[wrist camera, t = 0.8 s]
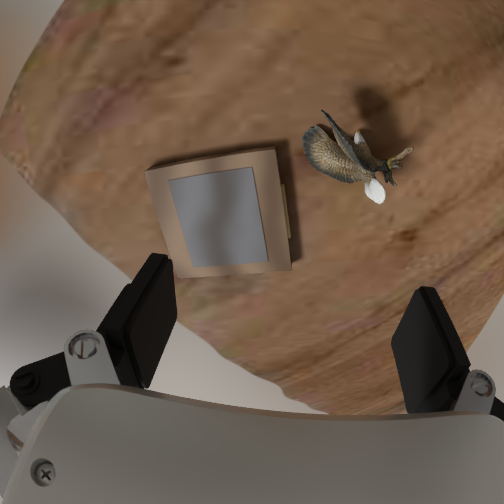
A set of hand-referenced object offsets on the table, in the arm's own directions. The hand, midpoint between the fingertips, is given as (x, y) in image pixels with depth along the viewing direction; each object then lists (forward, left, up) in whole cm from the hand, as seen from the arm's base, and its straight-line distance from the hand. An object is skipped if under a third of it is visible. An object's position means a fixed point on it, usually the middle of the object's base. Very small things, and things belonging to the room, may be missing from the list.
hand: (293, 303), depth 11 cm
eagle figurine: (-6, 0, -22) cm, 23 cm away
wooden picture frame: (+8, +6, -22) cm, 24 cm away
